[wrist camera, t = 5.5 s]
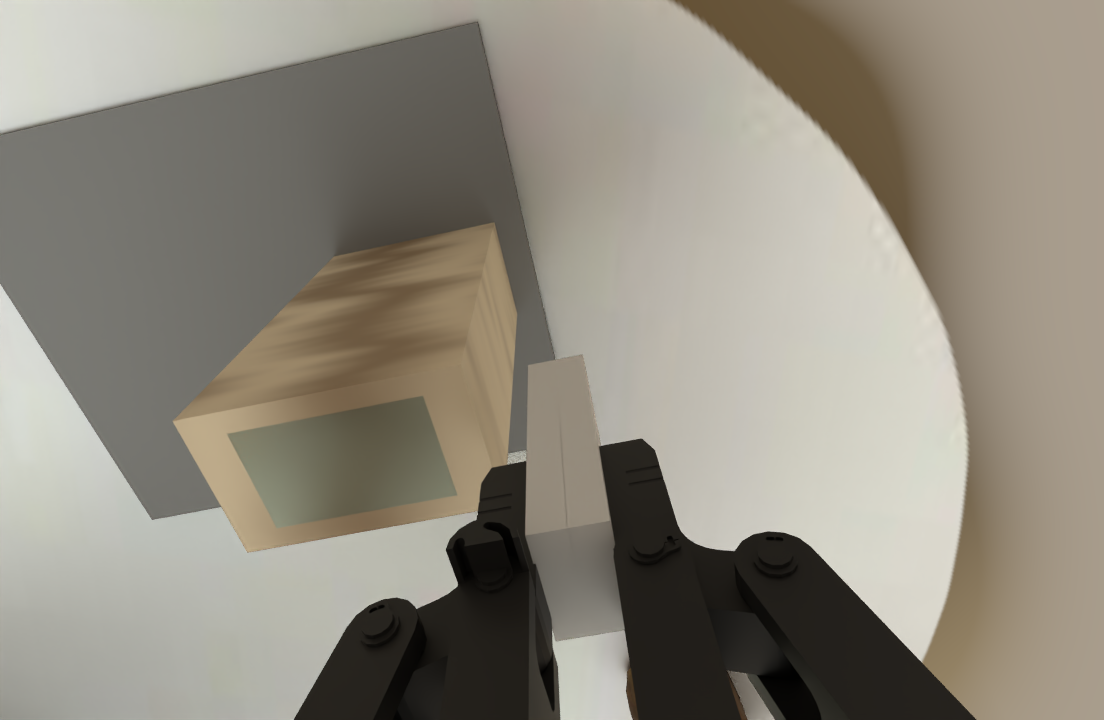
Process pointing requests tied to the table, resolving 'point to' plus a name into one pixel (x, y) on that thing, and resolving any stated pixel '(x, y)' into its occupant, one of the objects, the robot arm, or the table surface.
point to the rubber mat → (244, 227)
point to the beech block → (365, 395)
